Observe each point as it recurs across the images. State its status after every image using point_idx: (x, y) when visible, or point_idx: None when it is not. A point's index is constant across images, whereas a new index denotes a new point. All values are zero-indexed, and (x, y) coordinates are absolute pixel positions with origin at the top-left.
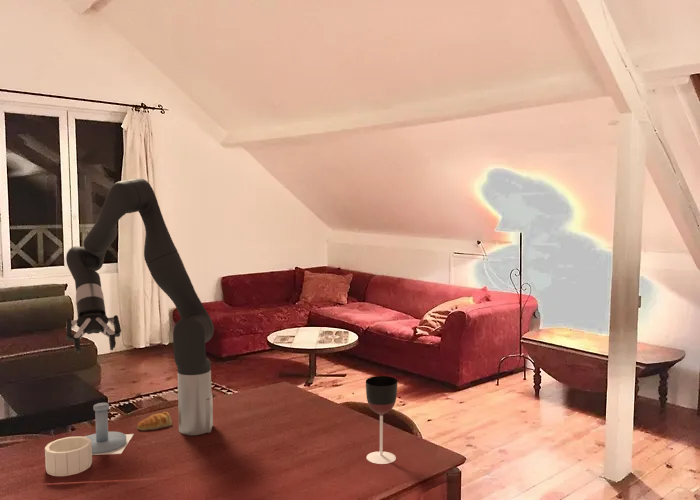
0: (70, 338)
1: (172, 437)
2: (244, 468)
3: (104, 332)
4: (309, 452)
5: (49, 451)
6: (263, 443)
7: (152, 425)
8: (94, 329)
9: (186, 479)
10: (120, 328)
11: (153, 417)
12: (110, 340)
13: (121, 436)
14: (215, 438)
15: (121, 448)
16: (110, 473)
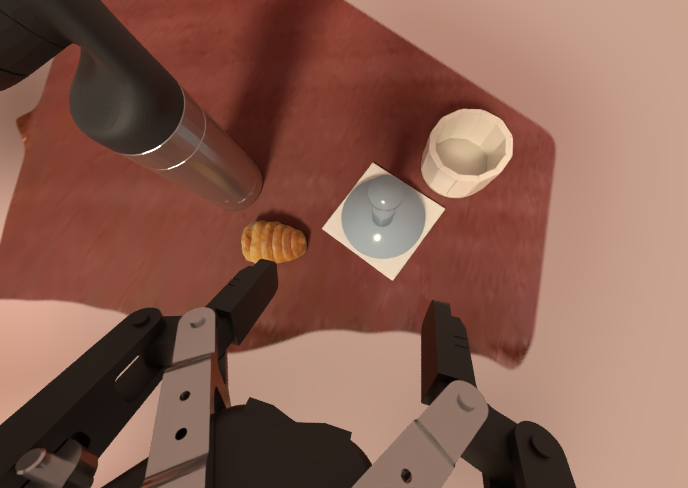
0: (505, 422)
1: (280, 178)
2: (268, 28)
3: (225, 397)
4: (183, 23)
5: (508, 132)
6: (202, 78)
7: (285, 225)
8: (292, 420)
9: (337, 41)
10: (110, 332)
11: (273, 235)
12: (252, 284)
13: (350, 210)
14: (236, 133)
15: (364, 181)
16: (409, 113)
